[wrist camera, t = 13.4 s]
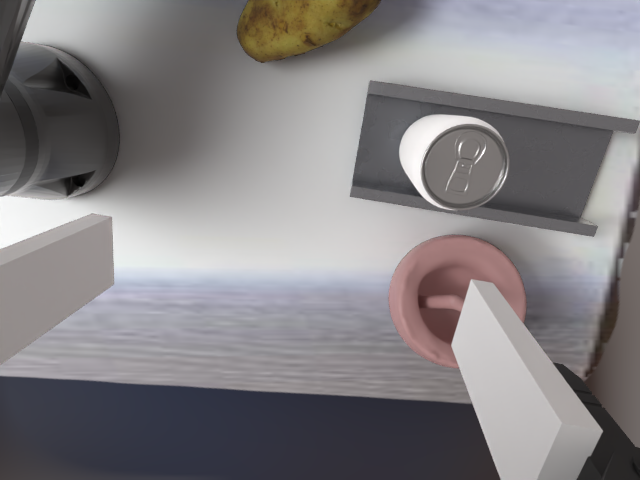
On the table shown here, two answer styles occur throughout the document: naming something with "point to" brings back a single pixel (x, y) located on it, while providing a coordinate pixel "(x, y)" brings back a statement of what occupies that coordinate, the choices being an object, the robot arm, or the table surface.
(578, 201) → the track
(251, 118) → the table surface
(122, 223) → the table surface
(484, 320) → the robot arm
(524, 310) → the mortar and pestle
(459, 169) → the can
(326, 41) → the potato
